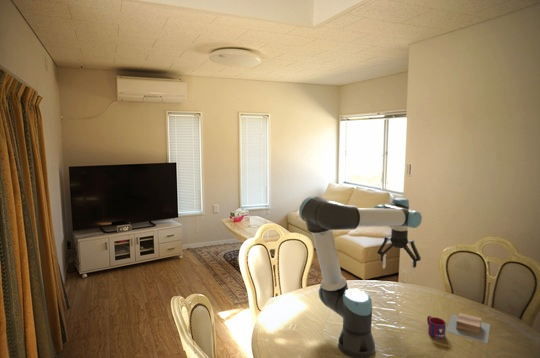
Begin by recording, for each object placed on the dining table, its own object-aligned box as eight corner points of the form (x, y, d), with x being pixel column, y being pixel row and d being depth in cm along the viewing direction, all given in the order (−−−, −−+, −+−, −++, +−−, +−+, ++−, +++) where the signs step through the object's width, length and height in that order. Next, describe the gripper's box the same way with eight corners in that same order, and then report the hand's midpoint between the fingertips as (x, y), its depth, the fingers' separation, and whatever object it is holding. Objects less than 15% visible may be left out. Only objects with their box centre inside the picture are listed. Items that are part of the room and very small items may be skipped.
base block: (478, 335, 151) (479, 327, 151) (456, 329, 156) (456, 320, 156) (480, 326, 158) (481, 318, 158) (458, 320, 164) (459, 312, 163)
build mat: (487, 344, 146) (487, 343, 145) (445, 331, 155) (445, 331, 155) (490, 325, 160) (490, 324, 160) (452, 315, 169) (452, 314, 169)
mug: (432, 340, 149) (433, 325, 148) (422, 327, 159) (422, 313, 158) (447, 339, 149) (448, 325, 148) (436, 327, 159) (437, 313, 158)
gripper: (428, 231, 164) (426, 273, 167) (376, 224, 178) (374, 263, 180) (425, 234, 158) (423, 278, 160) (372, 227, 171) (370, 267, 174)
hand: (397, 270), depth 170 cm, fingers open, 13 cm apart
